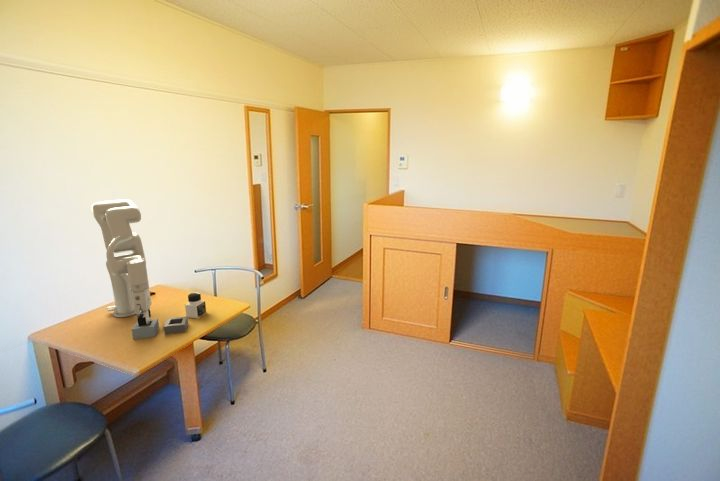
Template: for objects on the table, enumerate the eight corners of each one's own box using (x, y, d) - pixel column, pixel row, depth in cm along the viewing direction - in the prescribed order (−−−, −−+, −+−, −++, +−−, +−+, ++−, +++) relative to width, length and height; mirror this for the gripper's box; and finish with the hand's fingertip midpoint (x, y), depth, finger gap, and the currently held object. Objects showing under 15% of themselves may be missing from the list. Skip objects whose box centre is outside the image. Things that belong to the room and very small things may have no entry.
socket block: (133, 339, 168) (131, 329, 167) (138, 330, 176) (137, 320, 175) (154, 336, 170) (153, 326, 169) (159, 327, 179) (158, 318, 177)
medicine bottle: (198, 318, 189) (195, 297, 186) (186, 317, 190) (183, 295, 187) (206, 312, 195) (204, 291, 192) (194, 311, 197) (192, 290, 194)
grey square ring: (164, 334, 172) (163, 326, 171) (168, 325, 181) (167, 318, 180) (185, 331, 175) (184, 324, 174) (188, 323, 183) (187, 316, 182)
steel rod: (140, 335, 171) (137, 312, 168) (143, 331, 175) (139, 308, 172) (150, 334, 172) (146, 311, 169) (152, 330, 176) (149, 307, 173)
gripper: (143, 292, 160) (148, 329, 165) (153, 279, 177) (158, 312, 181) (124, 294, 158) (130, 331, 163) (135, 280, 174) (141, 314, 179)
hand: (144, 321), depth 172 cm, fingers open, 7 cm apart
